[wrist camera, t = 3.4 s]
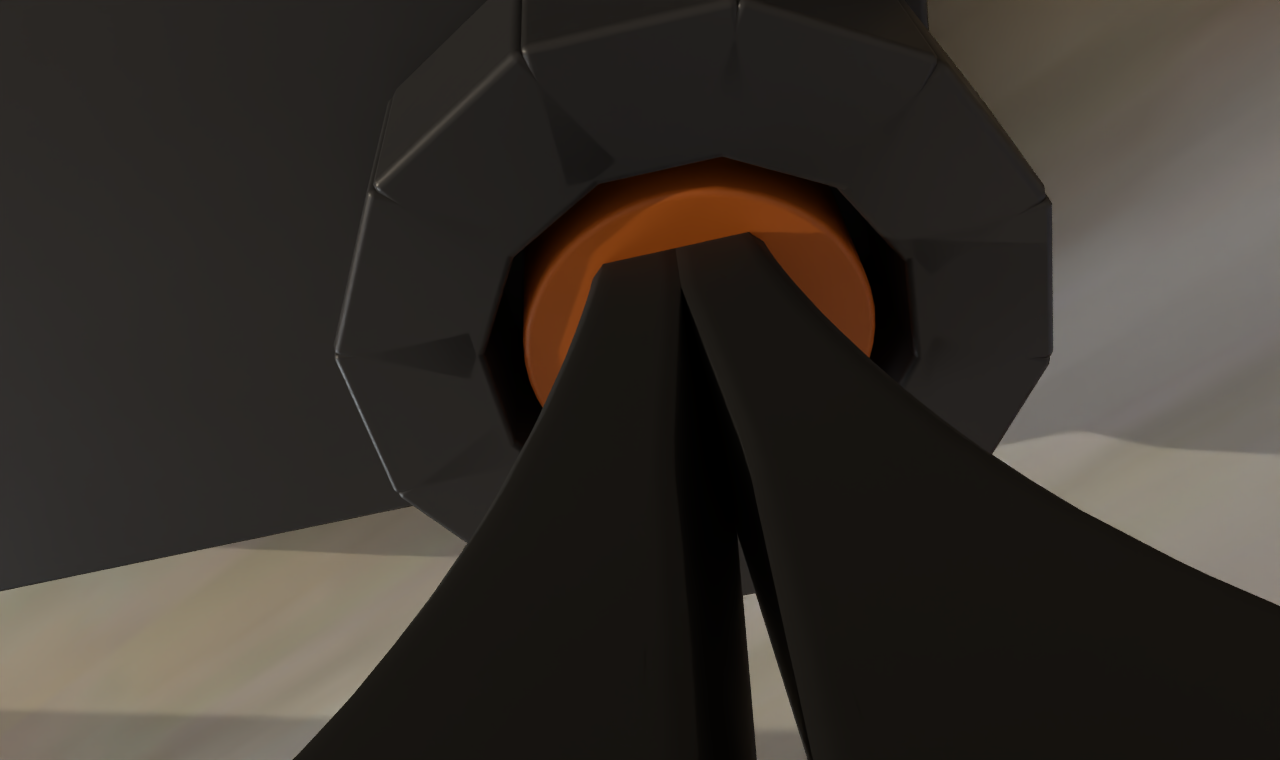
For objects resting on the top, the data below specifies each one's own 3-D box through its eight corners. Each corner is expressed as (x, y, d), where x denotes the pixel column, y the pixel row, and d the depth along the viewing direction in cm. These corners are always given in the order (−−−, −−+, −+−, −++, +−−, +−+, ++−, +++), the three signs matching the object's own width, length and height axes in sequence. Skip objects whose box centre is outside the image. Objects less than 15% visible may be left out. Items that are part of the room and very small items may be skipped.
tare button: (856, 348, 12) (891, 444, 11) (567, 409, 13) (570, 510, 11) (820, 72, 11) (858, 152, 9) (484, 147, 11) (478, 236, 10)
